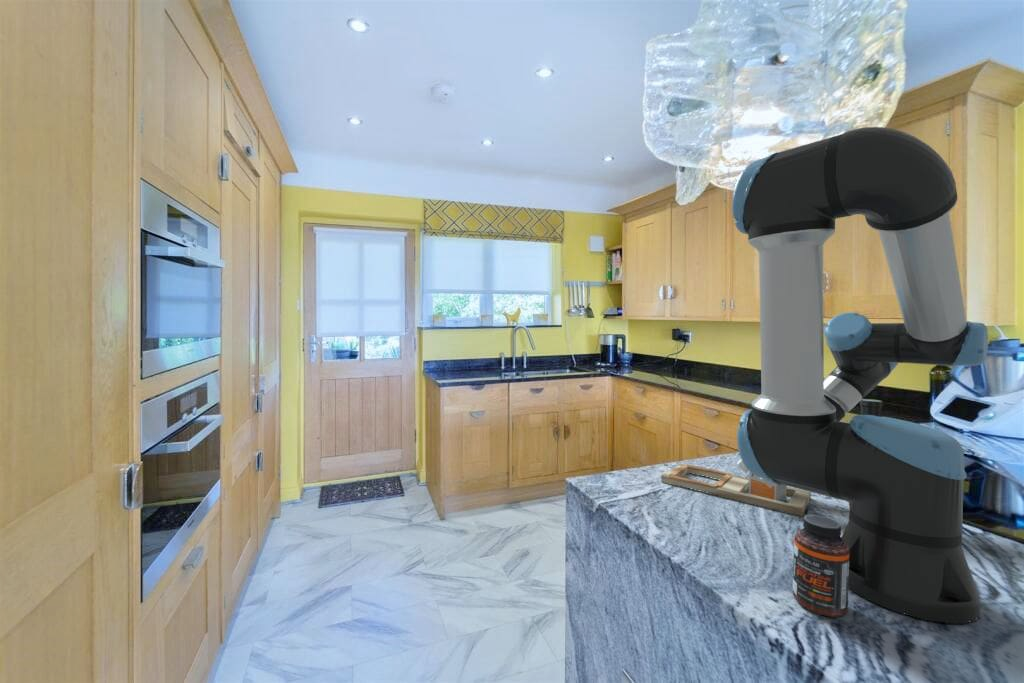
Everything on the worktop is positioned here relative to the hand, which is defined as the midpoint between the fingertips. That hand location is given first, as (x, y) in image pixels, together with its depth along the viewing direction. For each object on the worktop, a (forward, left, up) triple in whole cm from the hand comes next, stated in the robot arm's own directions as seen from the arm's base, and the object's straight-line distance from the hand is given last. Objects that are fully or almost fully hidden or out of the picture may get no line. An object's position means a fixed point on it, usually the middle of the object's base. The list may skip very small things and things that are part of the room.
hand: (752, 475), depth 91 cm
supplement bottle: (-34, -15, -5) cm, 38 cm away
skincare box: (+2, -2, -5) cm, 6 cm away
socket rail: (+2, +5, -5) cm, 7 cm away
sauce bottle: (+28, -18, -5) cm, 34 cm away
